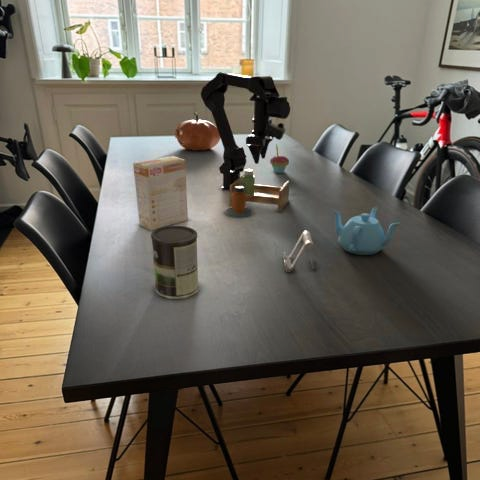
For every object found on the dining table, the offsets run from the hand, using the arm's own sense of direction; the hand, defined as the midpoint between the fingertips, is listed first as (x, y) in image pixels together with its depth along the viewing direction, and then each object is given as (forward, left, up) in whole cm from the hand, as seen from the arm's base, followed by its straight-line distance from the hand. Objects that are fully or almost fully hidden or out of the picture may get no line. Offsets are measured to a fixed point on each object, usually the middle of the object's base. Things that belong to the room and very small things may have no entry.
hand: (260, 161), depth 170 cm
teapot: (+42, -39, -13) cm, 59 cm away
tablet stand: (+27, -58, -13) cm, 65 cm away
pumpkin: (-54, +72, -13) cm, 91 cm away
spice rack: (+3, -9, -13) cm, 16 cm away
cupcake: (-1, +39, -13) cm, 41 cm away
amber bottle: (-1, -22, -12) cm, 26 cm away
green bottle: (-2, -9, -10) cm, 14 cm away
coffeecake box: (-21, -40, -13) cm, 47 cm away
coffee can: (+2, -81, -13) cm, 82 cm away
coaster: (-1, -22, -13) cm, 26 cm away
